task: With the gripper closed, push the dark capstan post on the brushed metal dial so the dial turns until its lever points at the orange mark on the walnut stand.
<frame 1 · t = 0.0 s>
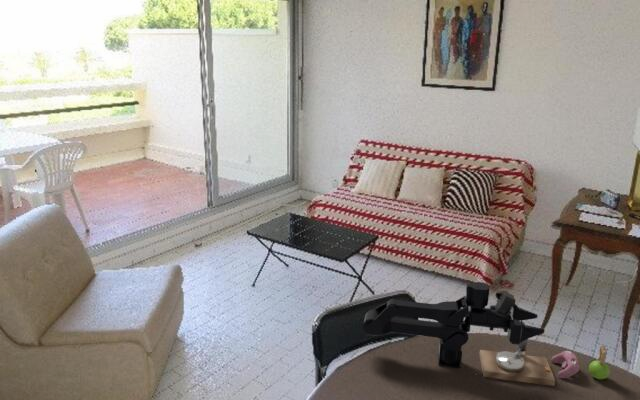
hand: (540, 323, 150), 17 cm above the table, tool horizontal, fingers open, 9 cm apart
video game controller: (564, 371, 155), on the table
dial: (514, 352, 155), point 5 cm above the table, hinge at 55.0°
stand: (515, 369, 155), on the table
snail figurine: (597, 379, 152), on the table
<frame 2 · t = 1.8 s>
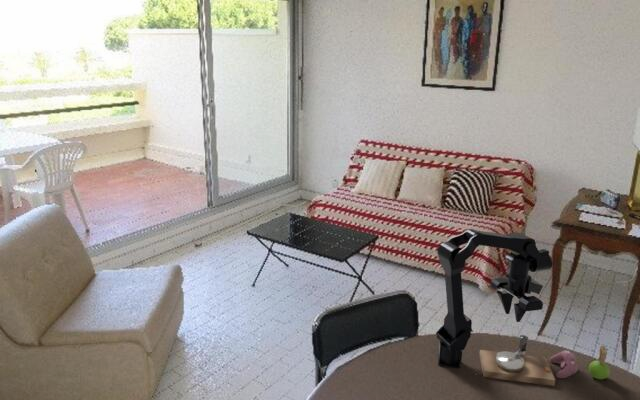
hand: (512, 317, 163), 12 cm above the table, tool pointing down, fingers open, 5 cm apart
nothing on the table moved.
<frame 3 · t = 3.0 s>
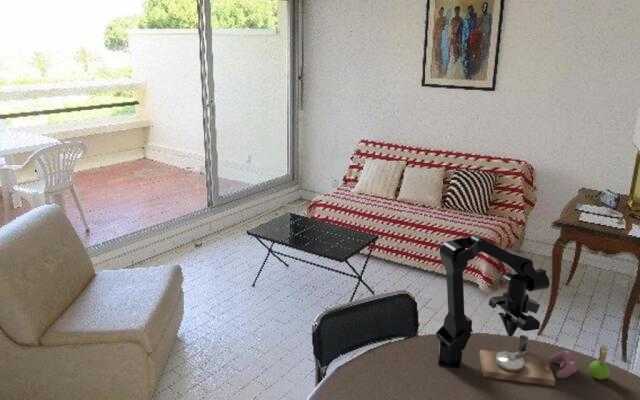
hand: (510, 336, 164), 5 cm above the table, tool pointing down, fingers closed
nothing on the table moved.
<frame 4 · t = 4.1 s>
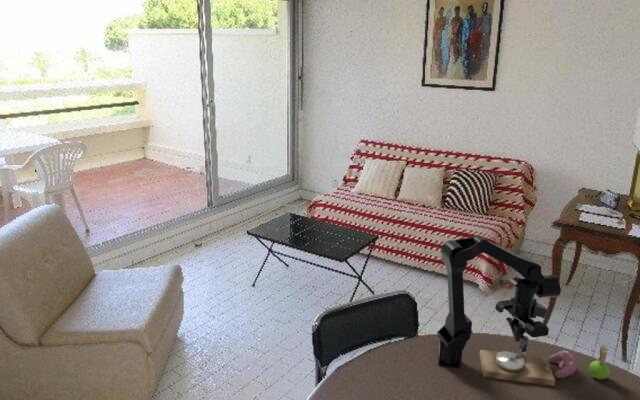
hand: (517, 341, 161), 5 cm above the table, tool pointing down, fingers closed
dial: (515, 352, 155), point 5 cm above the table, hinge at 53.4°, touching gripper
everything else where it was.
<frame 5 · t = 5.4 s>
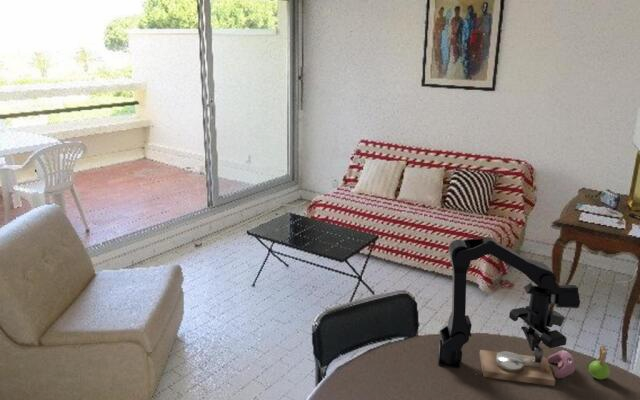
hand: (533, 350, 155), 6 cm above the table, tool pointing down, fingers closed
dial: (519, 355, 153), point 5 cm above the table, hinge at 7.2°, touching gripper
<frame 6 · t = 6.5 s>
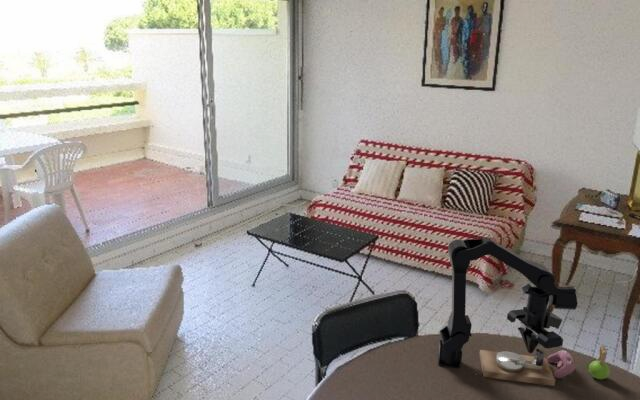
hand: (530, 352, 155), 5 cm above the table, tool pointing down, fingers closed
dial: (519, 356, 153), point 5 cm above the table, hinge at -5.3°
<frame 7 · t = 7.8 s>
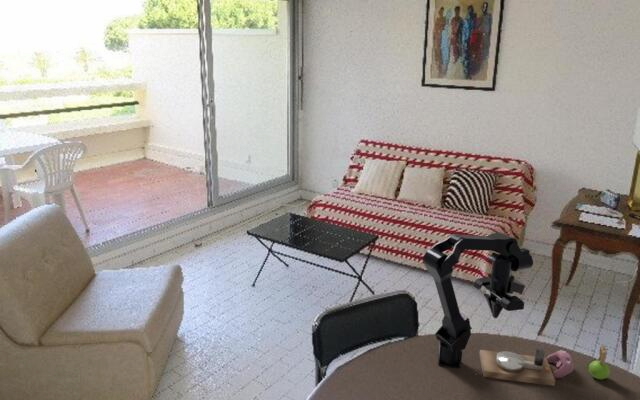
hand: (495, 317, 163), 12 cm above the table, tool pointing down, fingers closed
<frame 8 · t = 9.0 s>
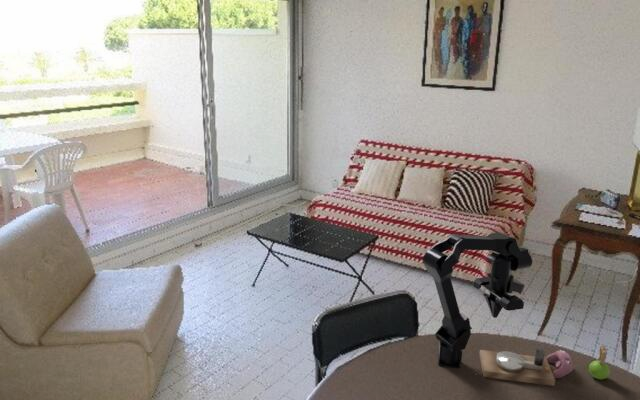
hand: (494, 317, 163), 12 cm above the table, tool pointing down, fingers closed
at the end: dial at -5° (first picture: +55°); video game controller moved 1.9 cm from its start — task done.
